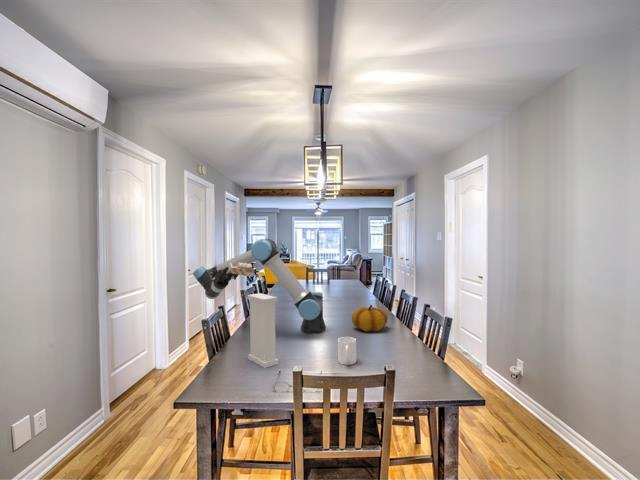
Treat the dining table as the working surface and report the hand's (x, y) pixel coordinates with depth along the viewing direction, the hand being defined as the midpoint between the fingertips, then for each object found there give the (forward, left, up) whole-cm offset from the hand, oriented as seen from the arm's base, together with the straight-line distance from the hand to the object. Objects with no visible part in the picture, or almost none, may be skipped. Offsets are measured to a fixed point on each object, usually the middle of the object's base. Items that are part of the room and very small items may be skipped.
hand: (235, 265), depth 180 cm
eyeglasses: (-31, +45, -43) cm, 70 cm away
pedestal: (-15, +22, -43) cm, 50 cm away
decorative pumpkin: (-75, -25, -43) cm, 90 cm away
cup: (-53, +28, -43) cm, 74 cm away
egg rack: (-2, +3, -4) cm, 6 cm away
